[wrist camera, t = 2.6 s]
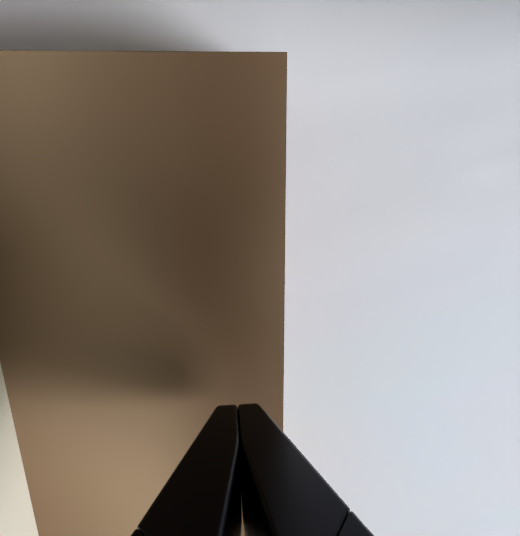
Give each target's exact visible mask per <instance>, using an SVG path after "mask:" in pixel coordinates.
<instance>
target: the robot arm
mask: <svg viewBox="0 0 520 536" xmlns="http://www.w3.org/2000/svg"><path fill="white" fill-rule="evenodd" d="M241 499H242V501H241ZM242 516H243V526H244V534H245V536H374V535H373V534H372V533H371V532H370V531H369V530H368V529H367V528H366V527H365V525H364V524H363V523H362V522H361V521H360V520H359V519H358V517H357V516H356V515H355V514H354V513H353V512H351V511H350V509H349V507H348V506H347V505H346V504H345V503H344V501H343V500H342V499H341V498H340V497H339V496H338V495H337V493H336V492H335V491H334V490H333V489H332V488H331V487H330V485H329V484H328V483H327V482H326V481H325V480H324V479H323V477H322V476H321V475H320V474H319V473H318V472H317V470H316V469H315V468H314V467H313V466H312V465H311V464H310V462H309V461H308V460H307V459H306V458H305V457H304V456H303V454H302V453H301V452H300V451H299V450H298V449H297V447H296V446H295V445H294V444H293V443H292V442H291V441H290V439H289V438H288V437H287V436H286V435H285V434H284V433H283V431H282V430H281V429H280V428H279V427H278V426H277V425H276V423H275V422H274V421H273V420H272V419H271V418H270V416H269V415H268V414H267V413H266V412H265V411H264V410H263V408H262V407H261V406H260V405H259V404H257V403H250V404H240V405H239V406H238V407H237V406H236V405H219V406H217V407H216V408H215V410H214V411H213V413H212V414H211V416H210V417H209V419H208V420H207V422H206V423H205V425H204V426H203V428H202V429H201V431H200V432H199V434H198V435H197V437H196V438H195V440H194V441H193V443H192V444H191V446H190V447H189V449H188V450H187V452H186V453H185V455H184V456H183V458H182V459H181V461H180V463H179V464H178V466H177V467H176V469H175V470H174V472H173V473H172V475H171V476H170V478H169V479H168V481H167V482H166V484H165V485H164V487H163V488H162V490H161V491H160V493H159V494H158V496H157V497H156V499H155V500H154V502H153V503H152V505H151V506H150V508H149V509H148V511H147V512H146V514H145V515H144V517H143V518H142V520H141V521H140V523H139V524H138V526H137V529H135V530H134V531H133V533H132V534H131V536H241V535H242Z"/></svg>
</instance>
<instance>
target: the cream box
mask: <svg viewBox="0 0 520 536" xmlns="http://www.w3.org/2000/svg"><path fill="white" fill-rule="evenodd" d="M0 536H39V535H38V530H37V526H36V521H35V517H34V512H33V508H32V503H31V499H30V494H29V490H28V485H27V481H26V476H25V472H24V467H23V463H22V458H21V454H20V449H19V445H18V440H17V436H16V431H15V426H14V422H13V417H12V413H11V408H10V404H9V399H8V395H7V390H6V386H5V381H4V377H3V372H2V368H1V363H0Z"/></svg>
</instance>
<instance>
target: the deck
mask: <svg viewBox="0 0 520 536" xmlns="http://www.w3.org/2000/svg"><path fill="white" fill-rule="evenodd" d="M286 94H287V52H192V51H37V50H0V363H1V368H2V372H3V377H4V381H5V386H6V390H7V395H8V399H9V404H10V408H11V413H12V417H13V422H14V426H15V431H16V436H17V440H18V445H19V449H20V454H21V458H22V463H23V467H24V472H25V476H26V481H27V485H28V490H29V494H30V499H31V503H32V508H33V512H34V517H35V521H36V526H37V530H38V535H39V536H131V534H132V533H133V531H134V530H135V529H137V526H138V524H139V523H140V521H141V520H142V518H143V517H144V515H145V514H146V512H147V511H148V509H149V508H150V506H151V505H152V503H153V502H154V500H155V499H156V497H157V496H158V494H159V493H160V491H161V490H162V488H163V487H164V485H165V484H166V482H167V481H168V479H169V478H170V476H171V475H172V473H173V472H174V470H175V469H176V467H177V466H178V464H179V463H180V461H181V459H182V458H183V456H184V455H185V453H186V452H187V450H188V449H189V447H190V446H191V444H192V443H193V441H194V440H195V438H196V437H197V435H198V434H199V432H200V431H201V429H202V428H203V426H204V425H205V423H206V422H207V420H208V419H209V417H210V416H211V414H212V413H213V411H214V410H215V408H216V407H217V406H219V405H236V406H237V407H238V406H239V405H240V404H250V403H257V404H259V405H260V406H261V407H262V408H263V410H264V411H265V412H266V413H267V414H268V415H269V416H270V418H271V419H272V420H273V421H274V422H275V423H276V425H277V426H278V427H279V428H280V429H281V430H282V431H283V379H284V284H285V189H286ZM241 501H242V499H241ZM241 536H245V534H244V526H243V516H242V535H241Z"/></svg>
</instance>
